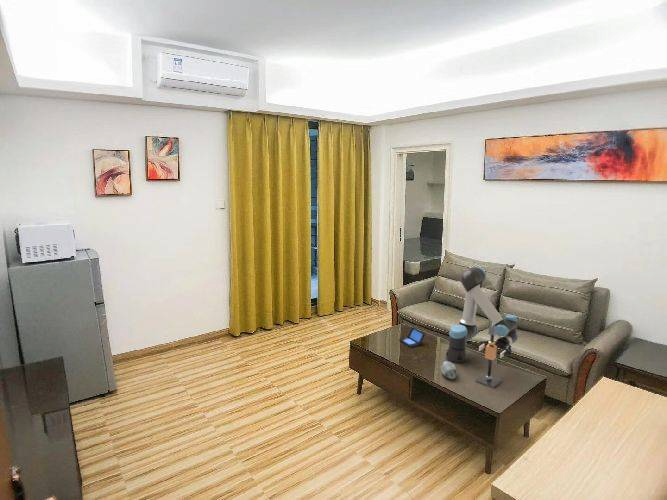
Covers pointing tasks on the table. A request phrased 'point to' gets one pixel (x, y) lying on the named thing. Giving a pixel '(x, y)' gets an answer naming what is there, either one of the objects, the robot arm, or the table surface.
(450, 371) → the spool
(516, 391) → the table surface
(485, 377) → the stand
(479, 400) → the table surface
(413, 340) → the handheld game console
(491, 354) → the sleeve
